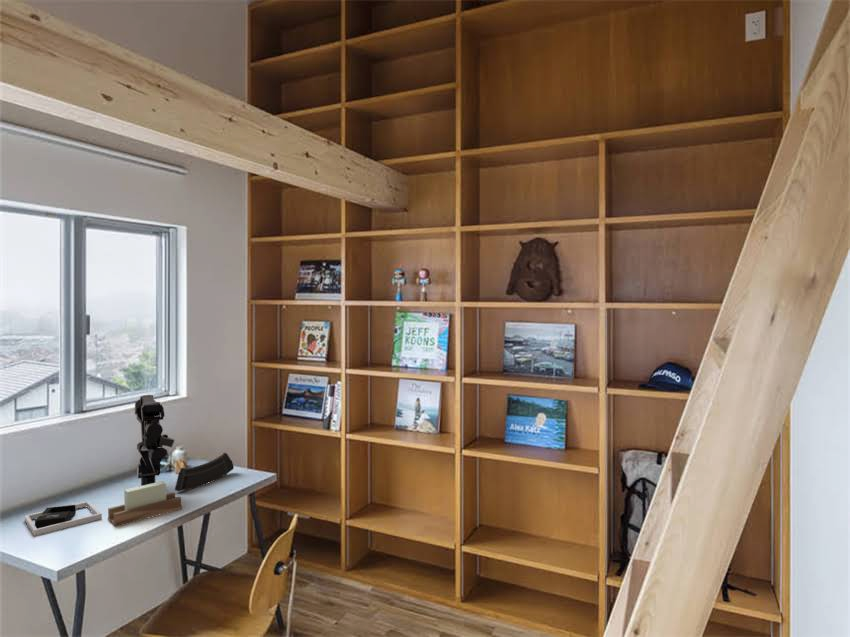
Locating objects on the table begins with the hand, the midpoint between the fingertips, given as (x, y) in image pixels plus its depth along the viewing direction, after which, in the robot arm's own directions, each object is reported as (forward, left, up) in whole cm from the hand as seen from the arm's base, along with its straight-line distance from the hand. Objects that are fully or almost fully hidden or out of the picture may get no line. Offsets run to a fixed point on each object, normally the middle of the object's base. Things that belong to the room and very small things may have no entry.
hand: (152, 469), depth 219 cm
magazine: (-5, +25, -13) cm, 29 cm away
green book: (+14, -7, -12) cm, 20 cm away
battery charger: (-2, -33, -14) cm, 36 cm away
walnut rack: (+14, -7, -13) cm, 20 cm away
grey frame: (-2, -31, -13) cm, 34 cm away
